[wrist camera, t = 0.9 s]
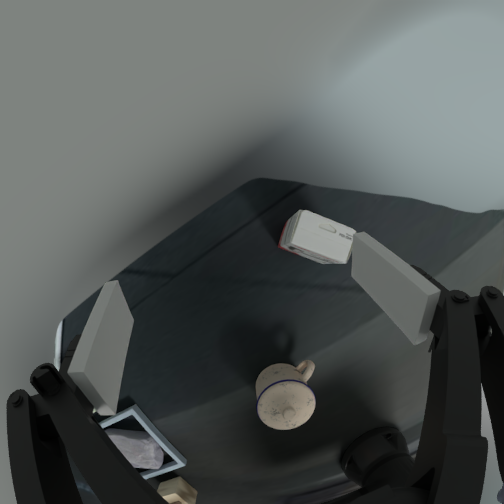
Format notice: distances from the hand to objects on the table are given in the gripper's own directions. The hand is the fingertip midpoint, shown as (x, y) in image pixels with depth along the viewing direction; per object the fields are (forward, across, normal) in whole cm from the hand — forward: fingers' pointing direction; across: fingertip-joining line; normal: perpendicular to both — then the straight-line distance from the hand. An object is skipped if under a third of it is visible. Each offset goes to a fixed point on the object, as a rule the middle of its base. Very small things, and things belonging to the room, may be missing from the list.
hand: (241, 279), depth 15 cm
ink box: (+29, -14, +13) cm, 35 cm away
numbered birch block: (+9, +22, +56) cm, 61 cm away
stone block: (+16, +27, +46) cm, 55 cm away
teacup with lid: (+19, -6, +33) cm, 39 cm away
